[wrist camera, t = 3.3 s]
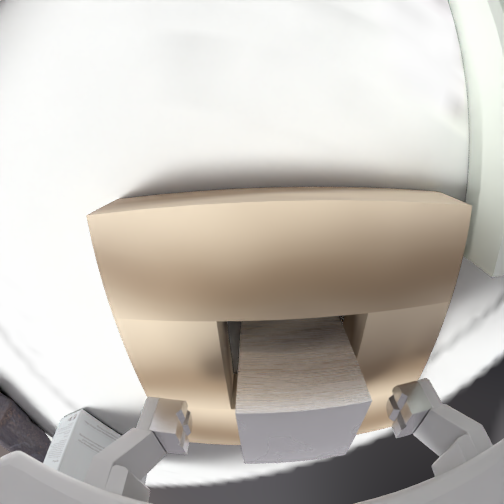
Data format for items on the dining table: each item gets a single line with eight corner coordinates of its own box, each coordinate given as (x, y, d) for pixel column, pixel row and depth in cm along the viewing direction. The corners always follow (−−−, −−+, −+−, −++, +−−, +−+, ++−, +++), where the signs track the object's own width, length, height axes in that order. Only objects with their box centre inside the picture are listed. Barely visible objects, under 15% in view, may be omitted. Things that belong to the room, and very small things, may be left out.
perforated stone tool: (67, 444, 22) (51, 483, 16) (52, 442, 23) (37, 476, 17) (-17, 361, 17) (-44, 398, 11) (-23, 367, 18) (-47, 399, 12)
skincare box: (62, 415, 18) (16, 525, 5) (84, 405, 17) (30, 543, 3) (126, 457, 21) (99, 563, 7) (158, 453, 19) (133, 580, 6)
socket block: (117, 199, 10) (86, 215, 8) (437, 191, 10) (472, 205, 8) (177, 410, 16) (170, 440, 14) (381, 399, 15) (391, 426, 13)
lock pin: (242, 301, 12) (235, 413, 7) (330, 296, 12) (372, 400, 7) (247, 363, 14) (244, 463, 8) (322, 358, 14) (345, 454, 8)
